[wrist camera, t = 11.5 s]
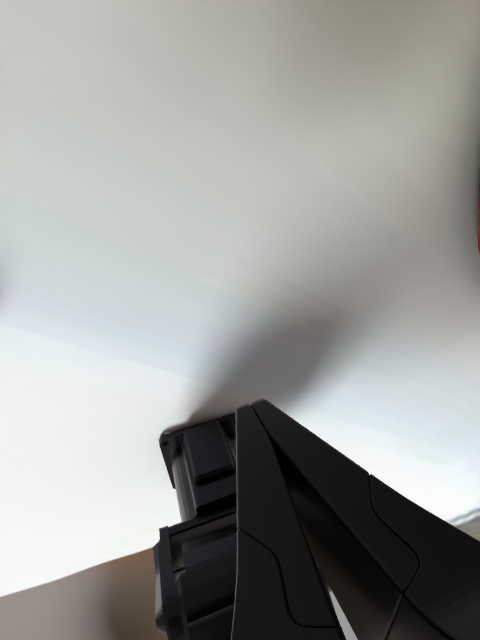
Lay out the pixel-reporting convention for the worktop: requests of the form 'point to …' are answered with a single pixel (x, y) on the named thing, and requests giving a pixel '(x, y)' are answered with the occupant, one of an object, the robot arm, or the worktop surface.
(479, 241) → the bread
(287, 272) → the worktop surface
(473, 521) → the worktop surface
